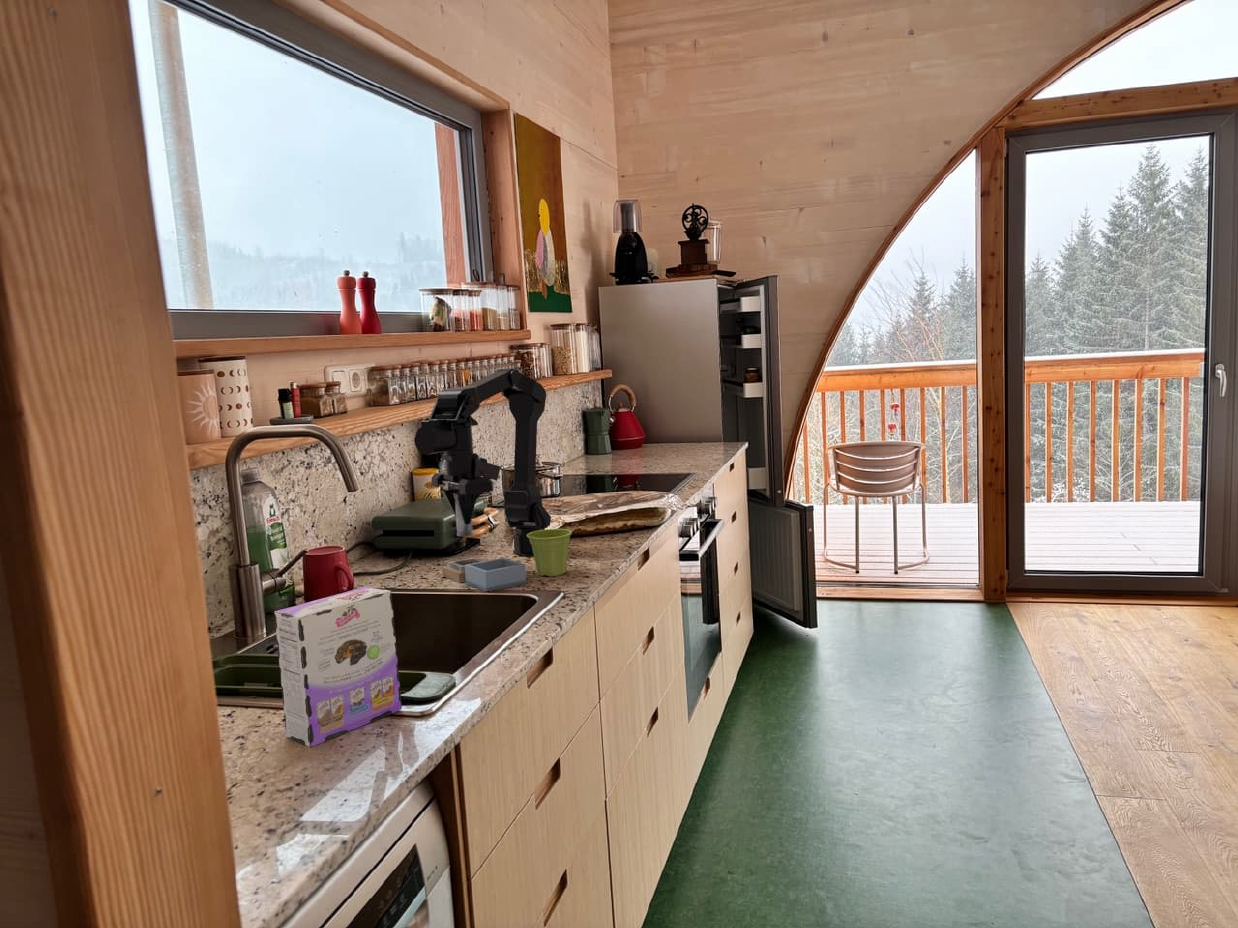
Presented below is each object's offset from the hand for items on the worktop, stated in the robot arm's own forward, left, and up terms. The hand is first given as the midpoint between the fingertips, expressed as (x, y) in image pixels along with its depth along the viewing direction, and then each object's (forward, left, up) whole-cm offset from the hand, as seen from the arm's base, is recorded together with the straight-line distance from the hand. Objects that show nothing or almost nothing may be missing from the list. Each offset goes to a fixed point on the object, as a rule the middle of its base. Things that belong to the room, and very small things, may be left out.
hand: (464, 522), depth 194 cm
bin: (-1, +10, -12) cm, 16 cm away
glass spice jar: (0, 0, -3) cm, 2 cm away
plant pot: (-14, +11, -12) cm, 21 cm away
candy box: (+48, +61, -12) cm, 78 cm away
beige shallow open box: (0, 0, -12) cm, 12 cm away
